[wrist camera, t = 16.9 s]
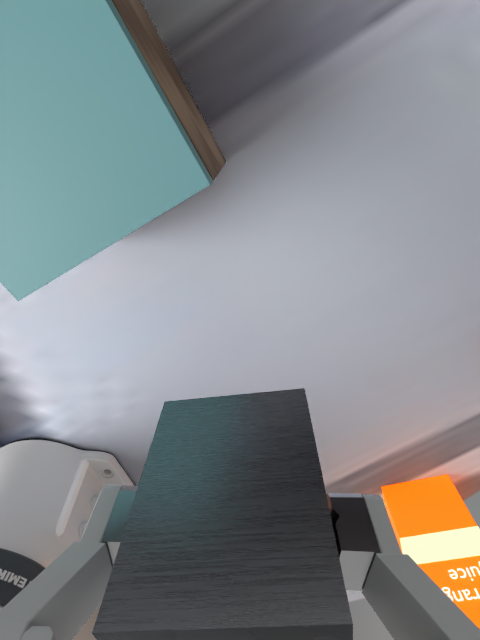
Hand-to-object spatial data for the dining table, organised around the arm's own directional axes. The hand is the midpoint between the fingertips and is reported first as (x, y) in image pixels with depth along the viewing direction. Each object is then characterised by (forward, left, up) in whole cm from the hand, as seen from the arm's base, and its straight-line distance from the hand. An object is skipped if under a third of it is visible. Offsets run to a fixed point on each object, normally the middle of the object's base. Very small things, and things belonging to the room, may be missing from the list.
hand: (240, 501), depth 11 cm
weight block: (0, 0, -2) cm, 2 cm away
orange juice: (-37, -3, -21) cm, 43 cm away
